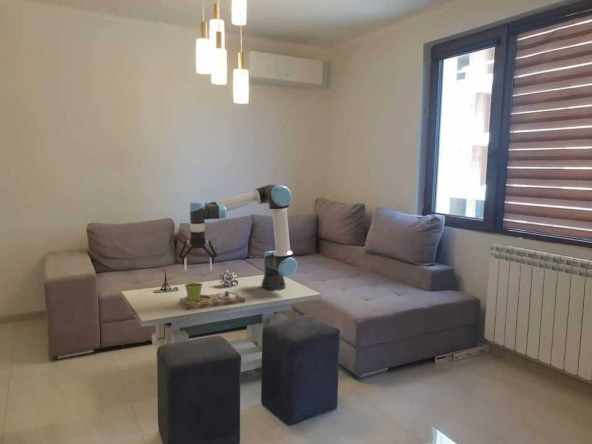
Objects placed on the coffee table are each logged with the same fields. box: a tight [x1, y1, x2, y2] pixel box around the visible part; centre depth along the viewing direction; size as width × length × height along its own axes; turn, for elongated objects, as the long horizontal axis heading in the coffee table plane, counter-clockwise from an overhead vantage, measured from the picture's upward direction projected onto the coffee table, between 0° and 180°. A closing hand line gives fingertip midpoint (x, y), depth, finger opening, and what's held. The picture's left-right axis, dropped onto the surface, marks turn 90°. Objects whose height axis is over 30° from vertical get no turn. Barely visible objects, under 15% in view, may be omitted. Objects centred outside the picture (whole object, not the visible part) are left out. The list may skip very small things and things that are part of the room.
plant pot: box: [184, 282, 203, 302], centre depth 249 cm, size 9×9×9 cm
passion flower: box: [219, 269, 239, 288], centre depth 290 cm, size 11×11×12 cm
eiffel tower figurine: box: [155, 268, 180, 294], centre depth 277 cm, size 15×10×13 cm
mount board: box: [179, 290, 246, 311], centre depth 254 cm, size 32×16×5 cm, turn 119°
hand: (198, 270), depth 248 cm, fingers open, 13 cm apart
